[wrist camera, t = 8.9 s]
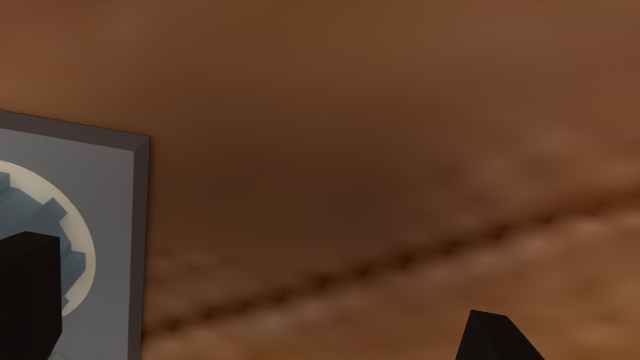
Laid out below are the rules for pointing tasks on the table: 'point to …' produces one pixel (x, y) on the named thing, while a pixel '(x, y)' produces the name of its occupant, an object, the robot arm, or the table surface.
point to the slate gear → (39, 228)
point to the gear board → (89, 223)
